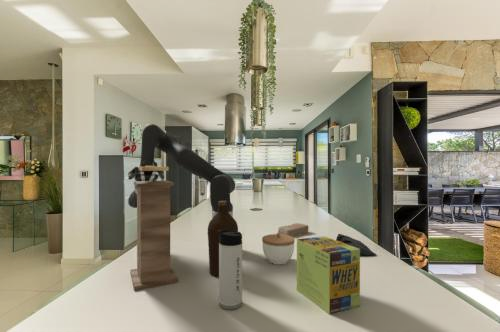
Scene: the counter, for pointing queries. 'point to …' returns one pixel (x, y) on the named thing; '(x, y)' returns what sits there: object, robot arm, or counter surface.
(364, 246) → the dark slate chunk
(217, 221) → the olive oil
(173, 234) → the counter surface
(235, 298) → the travel mug
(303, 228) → the brick
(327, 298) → the protein box
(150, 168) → the paddle
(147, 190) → the stand
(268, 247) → the lidded bowl
